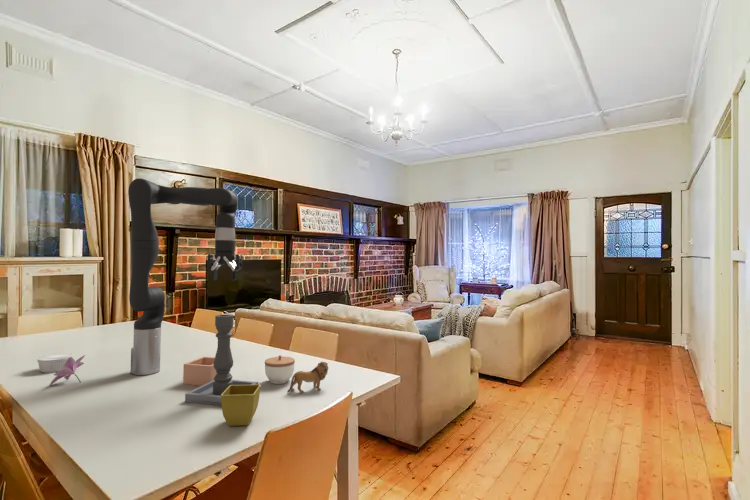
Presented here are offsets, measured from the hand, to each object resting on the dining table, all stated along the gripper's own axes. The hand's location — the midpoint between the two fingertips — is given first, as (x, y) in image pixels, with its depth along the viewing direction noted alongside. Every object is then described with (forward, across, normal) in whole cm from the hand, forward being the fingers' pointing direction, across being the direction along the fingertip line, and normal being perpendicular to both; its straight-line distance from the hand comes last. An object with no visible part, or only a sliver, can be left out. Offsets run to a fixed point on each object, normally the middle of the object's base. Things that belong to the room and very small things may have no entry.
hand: (224, 280), depth 153 cm
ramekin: (+36, -65, -14) cm, 76 cm away
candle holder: (+35, +16, -23) cm, 45 cm away
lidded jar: (+36, +27, -5) cm, 46 cm away
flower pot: (+36, +33, -40) cm, 63 cm away
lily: (+36, -44, -25) cm, 63 cm away
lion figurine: (+36, +41, -10) cm, 56 cm away
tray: (+36, +16, -23) cm, 46 cm away
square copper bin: (+36, +1, -11) cm, 38 cm away
